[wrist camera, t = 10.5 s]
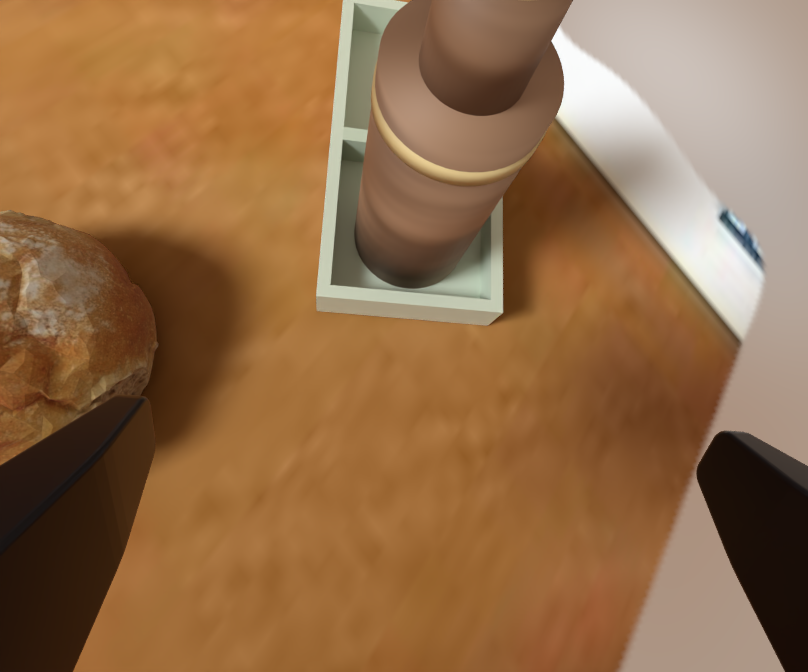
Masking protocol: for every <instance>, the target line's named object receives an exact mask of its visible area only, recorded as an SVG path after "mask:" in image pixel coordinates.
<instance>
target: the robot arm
mask: <svg viewBox="0 0 808 672" xmlns="http://www.w3.org/2000/svg"><path fill="white" fill-rule="evenodd" d="M155 443H156V440H155V432H154V425H153V417H152V410H151V404H150V402H149V399H148V398H146V397H145V396H137V395H116V396H114V397H112V398H110V399H108V400H107V401H105V402H103V403H102V404H100V405H98V406H97V407H95V408H93V409H92V410H90V411H89V412H87V413H85V414H84V415H82V416H80V417H79V418H77V419H75V420H74V421H72V422H70V423H69V424H67V425H65V426H64V427H62V428H61V429H59V430H57V431H56V432H54V433H52V434H51V435H49V436H47V437H46V438H44V439H42V440H41V441H39V442H37V443H36V444H34V445H32V446H31V447H29V448H28V449H26V450H24V451H23V452H21V453H19V454H18V455H16V456H14V457H13V458H11V459H9V460H8V461H6V462H4V463H3V464H1V465H0V672H73V670H74V668H75V666H76V663H77V661H78V659H79V656H80V654H81V652H82V650H83V647H84V645H85V643H86V640H87V638H88V636H89V633H90V631H91V629H92V627H93V624H94V622H95V620H96V617H97V615H98V613H99V610H100V608H101V606H102V604H103V601H104V599H105V597H106V594H107V592H108V590H109V587H110V585H111V583H112V581H113V578H114V576H115V574H116V571H117V569H118V566H119V564H120V561H121V559H122V556H123V554H124V551H125V548H126V545H127V542H128V539H129V536H130V532H131V529H132V526H133V523H134V519H135V516H136V513H137V509H138V506H139V503H140V500H141V496H142V493H143V490H144V486H145V483H146V480H147V476H148V473H149V470H150V467H151V463H152V460H153V457H154V452H155ZM697 480H698V483H699V486H700V488H701V491H702V493H703V496H704V498H705V501H706V503H707V505H708V508H709V511H710V513H711V516H712V518H713V521H714V523H715V526H716V528H717V531H718V533H719V536H720V538H721V541H722V543H723V546H724V549H725V551H726V553H727V556H728V558H729V560H730V563H731V565H732V567H733V569H734V571H735V574H736V576H737V578H738V580H739V582H740V584H741V586H742V588H743V590H744V592H745V594H746V596H747V598H748V600H749V602H750V604H751V606H752V608H753V610H754V611H755V613H756V615H757V617H758V619H759V621H760V623H761V625H762V627H763V629H764V631H765V633H766V635H767V637H768V639H769V641H770V643H771V645H772V647H773V649H774V651H775V653H776V655H777V657H778V659H779V661H780V663H781V665H782V667H783V669H784V670H785V672H808V466H807V465H805V464H803V463H801V462H799V461H798V460H796V459H794V458H792V457H790V456H788V455H787V454H785V453H783V452H781V451H780V450H778V449H776V448H774V447H772V446H771V445H769V444H767V443H765V442H763V441H762V440H760V439H758V438H756V437H754V436H753V435H751V434H749V433H745V432H737V431H722V432H719V433H718V434H717V435H716V436H715V437H714V438H713V440H712V442H711V444H710V445H709V447H708V449H707V450H706V452H705V454H704V456H703V457H702V459H701V461H700V462H699V464H698V467H697Z"/></svg>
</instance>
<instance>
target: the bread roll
mask: <svg viewBox="0 0 808 672" xmlns="http://www.w3.org/2000/svg"><path fill="white" fill-rule="evenodd" d="M158 345H159V344H158V342H157V333H156V324H155V317H154V314H153V311H152V307H151V305H150V303H149V302H148V300H147V298H146V296H145V295H144V293H143V291H142V289H141V288H140V287H139V286H138V285H136V284H132V283H131V282H130V279H129V277H128V273H127V272H126V270H125V269H124V267H123V266H122V265H121V264H120V262H119V261H118V260H117V259H116V257H115V256H114V255H113V254H112V253H111V252H110V251H109V250H108V249H107V248H106V247H105V246H104V245H103V244H102V243H101V242H99V241H98V240H96V239H95V238H93V237H92V236H90V235H89V234H86V233H83V232H80V231H78V230H75V229H71V228H68V227H66V226H62V225H59V224H56V223H53V222H52V221H50V220H46V219H43V218H40V217H34V216H28V215H25V214H23V213H16V212H14V211H12V210H8V211H3V212H0V465H1V464H3V463H4V462H6V461H8V460H9V459H11V458H13V457H14V456H16V455H18V454H19V453H21V452H23V451H24V450H26V449H28V448H29V447H31V446H32V445H34V444H36V443H37V442H39V441H41V440H42V439H44V438H46V437H47V436H49V435H51V434H52V433H54V432H56V431H57V430H59V429H61V428H62V427H64V426H65V425H67V424H69V423H70V422H72V421H74V420H75V419H77V418H79V417H80V416H82V415H84V414H85V413H87V412H89V411H90V410H92V409H93V408H95V407H97V406H98V405H100V404H102V403H103V402H105V401H107V400H108V399H110V398H112V397H114V396H116V395H137V396H140V395H141V394H142V392H143V389H144V388H145V387H146V385H147V384H148V382H149V379H150V375H151V370H152V365H153V359H154V353H155V350H156V349H157V347H158ZM67 408H68V410H67Z"/></svg>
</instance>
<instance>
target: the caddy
mask: <svg viewBox="0 0 808 672" xmlns="http://www.w3.org/2000/svg"><path fill="white" fill-rule="evenodd" d="M406 4H407V2H401V1H395V0H343V7H342V18H341V29H340V40H339V51H338V62H337V73H336V84H335V95H334V106H333V117H332V128H331V139H330V150H329V161H328V172H327V183H326V194H325V205H324V216H323V227H322V238H321V249H320V260H319V271H318V282H317V293H316V304H317V311H323V312H335V313H346V314H358V315H370V316H381V317H393V318H405V319H416V320H428V321H440V322H452V323H463V324H475V325H487V326H488V325H489V324H490V323H491V322H493V321H494V320H495V319H496V318H497V317H499V316H500V315H501V314H502V313H503V196H502V198H501V199H500V201H499V202H498V204H497V205H496V207H495V208H494V210H493V211H492V213H491V214H490V216H489V217H488V219H487V220H486V222H485V223H484V225H483V226H482V228H481V229H480V231H479V232H478V234H477V235H476V237H475V238H474V240H473V241H472V243H471V244H470V246H469V247H468V249H467V250H466V252H465V253H464V255H463V256H462V258H461V259H460V261H459V262H458V264H457V265H456V267H455V268H454V270H453V271H452V272H451V273H450V274H449V275H448V276H447V277H446V278H445V279H443V280H442V281H440V282H438V283H436V284H434V285H431V286H428V287H424V288H418V289H407V288H401V287H396V286H393V285H390V284H388V283H386V282H384V281H382V280H381V279H379V278H378V277H376V276H375V275H374V274H373V273H372V272H371V271H370V270H369V269H368V268H367V267H366V266H365V264H364V263H363V262H362V260H361V258H360V256H359V254H358V251H357V249H356V245H355V238H354V229H355V221H356V214H357V207H358V199H359V192H360V185H361V177H362V170H363V162H364V155H365V148H366V140H367V133H368V126H369V118H370V111H371V90H372V82H373V75H374V70H375V65H376V62H377V59H378V52H379V46H380V41H381V38H382V35H383V32H384V30H385V28H386V26H387V24H388V23H389V21H390V20H391V18H392V17H393V16H394V15H395V13H396V12H397V11H399V10H400V9H401V8H402V7H403V6H404V5H406Z"/></svg>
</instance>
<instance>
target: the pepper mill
mask: <svg viewBox="0 0 808 672" xmlns="http://www.w3.org/2000/svg"><path fill="white" fill-rule="evenodd" d="M572 1H573V0H412V1H410V2H409V3H407V4H406V5H404V6H403V7H402V8H401V9H400V10H399V11H397V12H396V13H395V15H394V16H393V17H392V18H391V20H390V21H389V23H388V24H387V26H386V28H385V30H384V32H383V35H382V38H381V41H380V46H379V52H378V59H377V62H376V65H375V70H374V75H373V82H372V90H371V111H370V118H369V126H368V133H367V140H366V148H365V155H364V162H363V170H362V177H361V185H360V192H359V199H358V207H357V214H356V221H355V229H354V238H355V245H356V249H357V251H358V254H359V256H360V258H361V260H362V262H363V263H364V264H365V266H366V267H367V268H368V269H369V270H370V271H371V272H372V273H373V274H374V275H375V276H376V277H378V278H379V279H381V280H382V281H384V282H386V283H388V284H390V285H393V286H396V287H401V288H407V289H418V288H424V287H428V286H431V285H434V284H436V283H438V282H440V281H442V280H443V279H445V278H446V277H447V276H448V275H449V274H450V273H451V272H452V271H453V270H454V268H455V267H456V265H457V264H458V262H459V261H460V259H461V258H462V256H463V255H464V253H465V252H466V250H467V249H468V247H469V246H470V244H471V243H472V241H473V240H474V238H475V237H476V235H477V234H478V232H479V231H480V229H481V228H482V226H483V225H484V223H485V222H486V220H487V219H488V217H489V216H490V214H491V213H492V211H493V210H494V208H495V207H496V205H497V204H498V202H499V201H500V199H501V198H502V196H503V195H504V193H505V192H506V190H507V189H508V187H509V186H510V184H511V183H512V181H513V180H514V178H515V177H516V175H517V174H518V172H519V171H520V169H521V168H522V166H524V165H525V163H526V162H527V161H528V160H529V159H530V158H531V156H532V155H533V153H534V152H535V150H536V149H537V147H538V146H539V144H540V142H541V141H542V139H543V138H544V136H545V133H546V131H547V129H548V127H549V126H550V124H551V123H552V121H553V120H554V118H555V116H556V115H557V113H558V110H559V108H560V105H561V102H562V98H563V91H564V76H563V70H562V65H561V62H560V59H559V56H558V54H557V52H556V50H555V48H554V46H553V44H552V42H551V40H552V38H553V36H554V35H555V33H556V31H557V29H558V27H559V25H560V23H561V22H562V19H563V18H564V16H565V14H566V12H567V10H568V8H569V7H570V5H571V3H572Z"/></svg>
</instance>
